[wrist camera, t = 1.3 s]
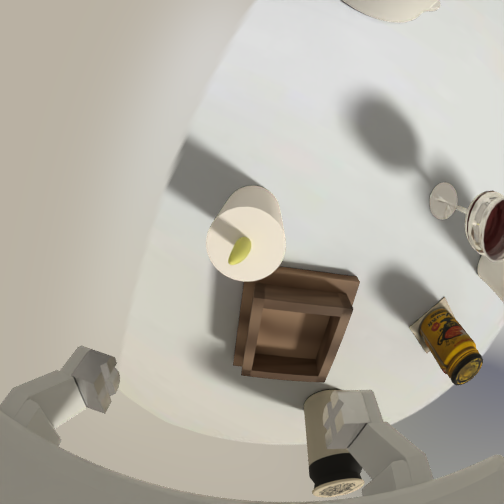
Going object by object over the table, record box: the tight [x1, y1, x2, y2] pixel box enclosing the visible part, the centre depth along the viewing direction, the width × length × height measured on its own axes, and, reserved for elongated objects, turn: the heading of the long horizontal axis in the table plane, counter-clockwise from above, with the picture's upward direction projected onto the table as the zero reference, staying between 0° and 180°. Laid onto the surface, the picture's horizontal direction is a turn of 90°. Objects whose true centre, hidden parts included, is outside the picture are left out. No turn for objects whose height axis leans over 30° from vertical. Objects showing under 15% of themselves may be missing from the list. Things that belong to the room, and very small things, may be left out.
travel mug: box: [304, 390, 364, 497], centre depth 35 cm, size 8×8×18 cm
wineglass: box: [429, 182, 504, 262], centre depth 24 cm, size 7×7×12 cm
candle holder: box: [233, 266, 360, 382], centre depth 35 cm, size 16×14×5 cm
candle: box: [206, 186, 286, 281], centre depth 25 cm, size 6×6×15 cm
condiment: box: [409, 298, 483, 385], centre depth 31 cm, size 7×8×12 cm
